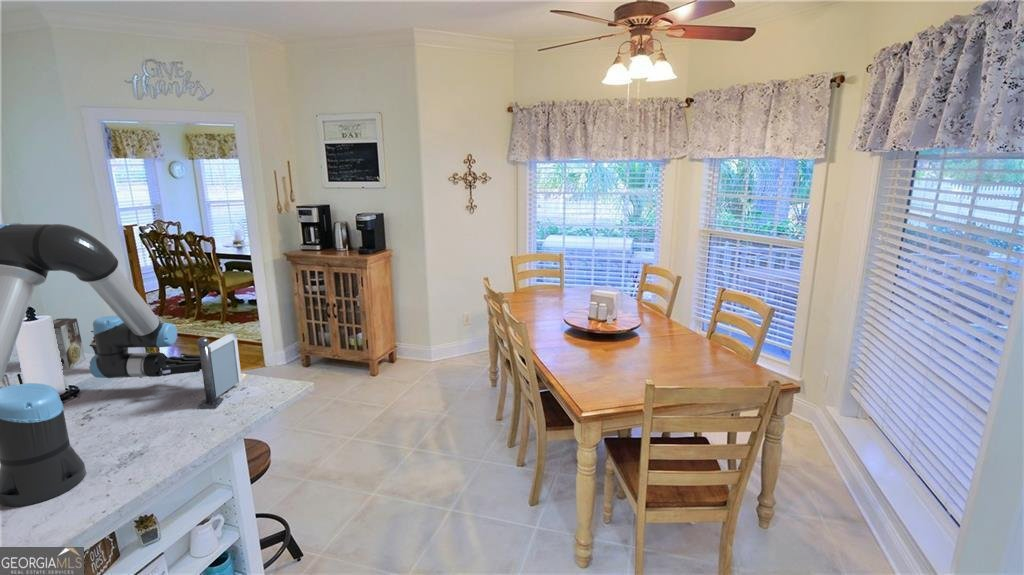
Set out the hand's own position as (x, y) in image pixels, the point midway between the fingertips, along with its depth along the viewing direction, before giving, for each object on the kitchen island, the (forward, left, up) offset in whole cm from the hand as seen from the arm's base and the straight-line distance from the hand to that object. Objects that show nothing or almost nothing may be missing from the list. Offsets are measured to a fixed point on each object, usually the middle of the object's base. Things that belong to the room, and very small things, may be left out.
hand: (227, 363), depth 164 cm
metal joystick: (-7, -8, -9) cm, 14 cm away
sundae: (-29, +42, -9) cm, 52 cm away
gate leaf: (-2, -3, -8) cm, 8 cm away
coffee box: (-39, +56, -9) cm, 69 cm away
